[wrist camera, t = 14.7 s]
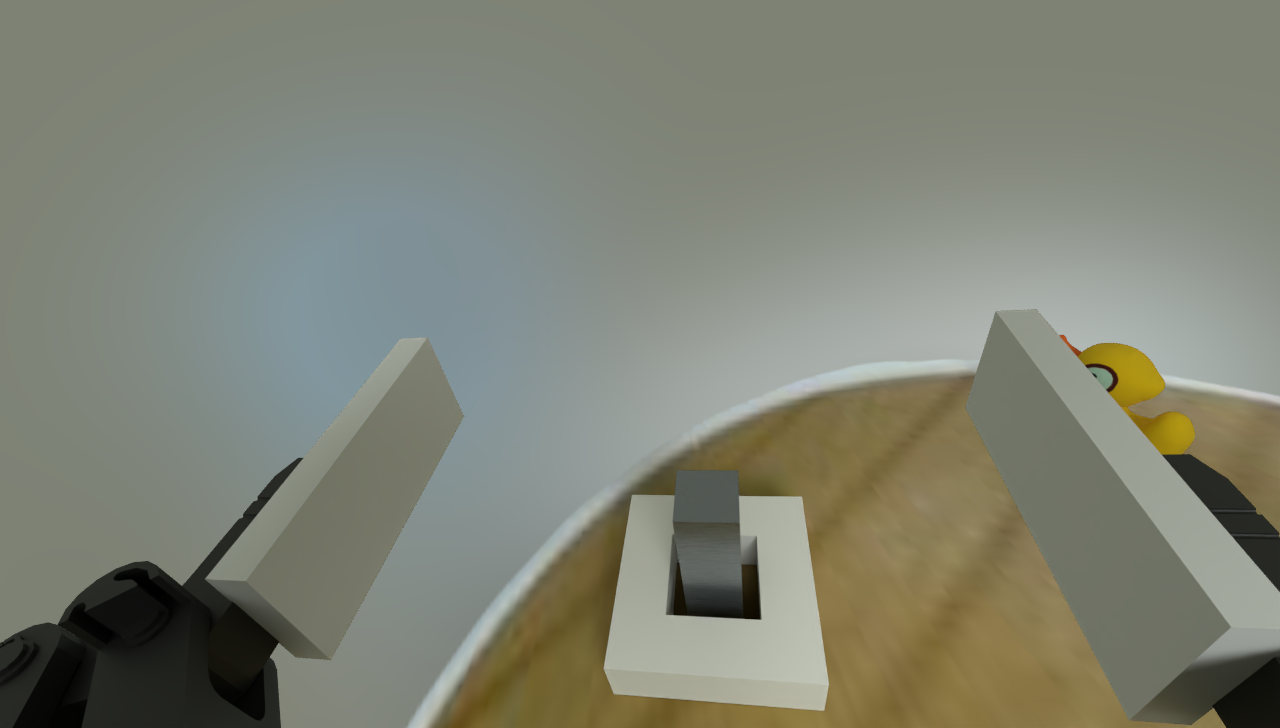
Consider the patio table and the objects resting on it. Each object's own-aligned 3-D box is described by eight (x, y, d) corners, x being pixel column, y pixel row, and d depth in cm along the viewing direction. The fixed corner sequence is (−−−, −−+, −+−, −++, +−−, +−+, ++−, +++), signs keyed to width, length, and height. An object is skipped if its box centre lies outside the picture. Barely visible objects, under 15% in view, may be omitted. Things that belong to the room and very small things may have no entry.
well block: (799, 526, 45) (801, 496, 43) (824, 710, 34) (828, 684, 32) (638, 523, 48) (632, 494, 45) (613, 694, 37) (603, 668, 35)
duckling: (1007, 418, 52) (1039, 334, 46) (1043, 397, 53) (1079, 312, 47) (1142, 498, 43) (1204, 407, 37) (1180, 469, 45) (1246, 378, 39)
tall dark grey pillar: (742, 579, 42) (738, 470, 34) (743, 629, 39) (739, 522, 31) (691, 577, 43) (676, 470, 35) (689, 626, 40) (672, 521, 32)
